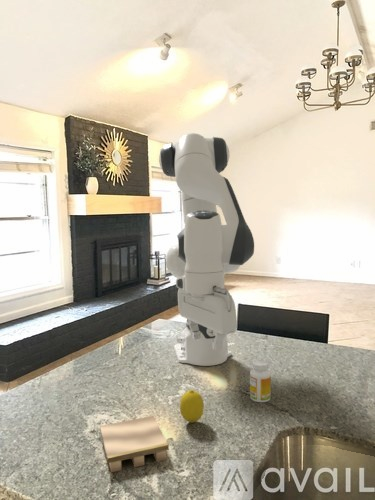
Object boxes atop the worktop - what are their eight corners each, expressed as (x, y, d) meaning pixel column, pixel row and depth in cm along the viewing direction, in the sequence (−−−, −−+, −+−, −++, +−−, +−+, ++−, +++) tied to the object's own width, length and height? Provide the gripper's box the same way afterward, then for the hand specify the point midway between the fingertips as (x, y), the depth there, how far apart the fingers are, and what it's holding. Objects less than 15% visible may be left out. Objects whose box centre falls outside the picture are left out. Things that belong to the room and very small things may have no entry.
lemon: (179, 417, 95) (178, 385, 94) (202, 416, 95) (201, 384, 94) (181, 430, 89) (180, 396, 88) (205, 428, 89) (204, 395, 89)
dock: (100, 438, 86) (99, 425, 86) (153, 428, 90) (153, 415, 90) (108, 473, 75) (107, 458, 74) (168, 459, 79) (168, 444, 78)
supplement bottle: (271, 394, 105) (272, 359, 104) (269, 404, 100) (269, 367, 99) (251, 392, 107) (251, 357, 106) (248, 401, 102) (248, 365, 101)
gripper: (243, 288, 80) (244, 354, 81) (195, 276, 98) (196, 331, 99) (217, 291, 77) (219, 360, 78) (172, 279, 95) (174, 335, 96)
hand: (206, 343), depth 89 cm, fingers open, 8 cm apart
